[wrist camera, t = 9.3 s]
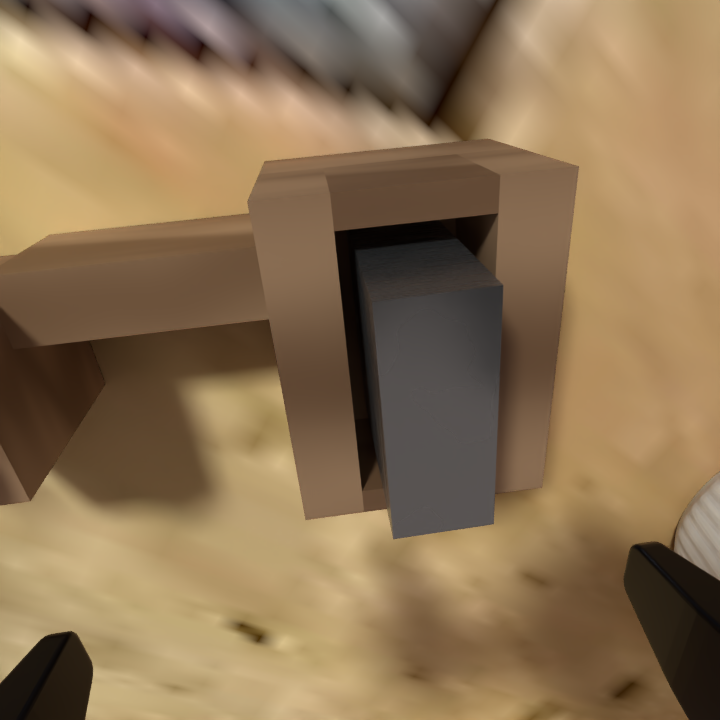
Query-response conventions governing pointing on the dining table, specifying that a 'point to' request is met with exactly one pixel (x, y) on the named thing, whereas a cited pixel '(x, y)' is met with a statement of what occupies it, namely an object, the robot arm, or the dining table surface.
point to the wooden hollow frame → (293, 304)
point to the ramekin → (701, 529)
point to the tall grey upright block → (429, 373)
